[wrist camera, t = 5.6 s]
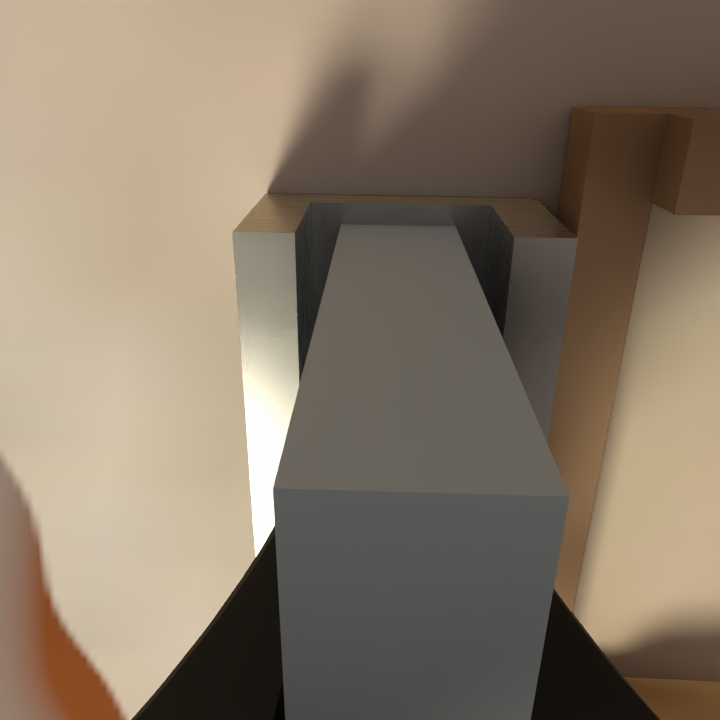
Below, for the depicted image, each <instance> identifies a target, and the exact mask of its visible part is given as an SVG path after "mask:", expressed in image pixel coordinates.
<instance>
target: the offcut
mask: <svg viewBox="0 0 720 720" xmlns="http://www.w3.org/2000/svg"><path fill="white" fill-rule="evenodd" d="M624 678H625V679H626V681H627V682H628V683H629V684H630V685H631V686H632V688H633V689H634V690H635V691H636V692H637V693H638V695H639V696H640V697H641V698H642V699H643V700H644V701H645V703H646V704H647V705H648V706H649V707H650V708H651V710H652V711H653V712H654V713H655V714H656V715H657V716H658V717H659V718H660V720H720V682H718V681H697V680H676V679H656V678H635V677H624Z"/></svg>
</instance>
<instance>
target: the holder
mask: <svg viewBox="0 0 720 720" xmlns="http://www.w3.org/2000/svg"><path fill="white" fill-rule="evenodd" d="M341 224H352V225H407V226H456V229H457V231H458V233H459V236H460V238H461V241H462V243H463V245H464V248H465V250H466V252H467V255H468V257H469V259H470V262H471V264H472V267H473V269H474V271H475V274H476V276H477V278H478V281H479V283H480V286H481V288H482V290H483V293H484V295H485V297H486V300H487V302H488V304H489V307H490V309H491V312H492V314H493V316H494V319H495V321H496V323H497V326H498V328H499V331H500V333H501V335H502V338H503V340H504V342H505V345H506V347H507V349H508V352H509V354H510V357H511V359H512V361H513V364H514V366H515V368H516V371H517V373H518V376H519V378H520V380H521V383H522V385H523V387H524V390H525V392H526V394H527V397H528V399H529V402H530V404H531V406H532V409H533V411H534V413H535V416H536V418H537V421H538V423H539V425H540V428H541V430H542V432H543V435H544V437H545V439H546V442H547V440H548V433H549V427H550V420H551V414H552V407H553V400H554V394H555V387H556V381H557V374H558V367H559V361H560V354H561V348H562V341H563V334H564V328H565V321H566V315H567V308H568V301H569V295H570V288H571V282H572V275H573V268H574V262H575V255H576V249H577V242H578V238H577V237H576V236H575V235H574V234H573V233H572V232H571V231H569V230H568V229H567V228H566V227H565V226H564V225H563V224H562V223H561V222H560V221H559V220H558V219H557V218H556V217H555V216H553V215H552V214H551V213H550V212H549V211H548V210H547V209H546V208H545V207H544V206H543V205H542V204H541V203H540V202H538V201H537V200H536V199H534V198H476V197H419V196H362V195H305V194H265V195H264V196H263V197H262V199H261V200H260V201H259V202H258V203H257V204H256V206H255V207H254V208H253V209H252V210H251V211H250V212H249V214H248V215H247V216H246V217H245V218H244V219H243V220H242V222H241V223H240V224H239V225H238V226H237V227H236V229H235V230H234V231H233V245H234V260H235V274H236V288H237V302H238V316H239V330H240V344H241V359H242V373H243V387H244V401H245V415H246V429H247V443H248V458H249V472H250V486H251V500H252V514H253V528H254V542H255V557H256V556H257V554H258V553H259V551H260V550H261V548H262V546H263V545H264V543H265V541H266V540H267V538H268V536H269V534H270V533H271V531H272V529H273V527H274V525H275V520H274V502H273V485H274V481H275V478H276V474H277V470H278V466H279V462H280V458H281V454H282V450H283V447H284V443H285V439H286V435H287V431H288V427H289V423H290V420H291V416H292V412H293V408H294V404H295V400H296V396H297V392H298V389H299V385H300V381H301V377H302V373H303V369H304V365H305V361H306V358H307V354H308V350H309V346H310V342H311V338H312V334H313V331H314V327H315V323H316V319H317V315H318V311H319V307H320V303H321V300H322V296H323V292H324V288H325V284H326V280H327V276H328V272H329V269H330V265H331V261H332V257H333V253H334V249H335V245H336V242H337V238H338V234H339V230H340V226H341Z"/></svg>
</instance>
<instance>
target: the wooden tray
mask: <svg viewBox="0 0 720 720" xmlns="http://www.w3.org/2000/svg"><path fill="white" fill-rule="evenodd" d="M652 203H654V204H656V205H658V206H660V207H661V208H663V209H665V210H667V211H669V212H671V213H673V214H677V215H720V109H698V108H626V107H573V108H572V115H571V123H570V130H569V137H568V145H567V152H566V159H565V167H564V174H563V181H562V189H561V196H560V203H559V211H558V218H557V219H558V220H559V221H560V222H561V223H562V224H563V225H564V226H565V227H566V228H567V229H568V230H569V231H571V232H572V233H573V234H574V235H575V236H576V237H577V238H578V242H577V249H576V255H575V262H574V268H573V275H572V282H571V288H570V295H569V301H568V308H567V315H566V321H565V328H564V334H563V341H562V348H561V354H560V361H559V367H558V374H557V381H556V387H555V394H554V400H553V407H552V414H551V420H550V427H549V433H548V440H547V444H548V447H549V449H550V451H551V454H552V456H553V458H554V461H555V463H556V466H557V468H558V470H559V473H560V475H561V477H562V480H563V482H564V484H565V487H566V489H567V492H568V494H569V496H570V498H569V503H568V509H567V515H566V521H565V526H564V532H563V538H562V543H561V549H560V555H559V561H558V566H557V572H556V578H555V584H554V589H555V590H556V592H557V593H558V595H559V596H560V597H561V599H562V600H563V601H564V603H565V604H566V605H567V607H568V608H569V609H570V611H571V612H572V611H573V606H574V601H575V596H576V591H577V586H578V580H579V575H580V570H581V565H582V560H583V555H584V550H585V544H586V539H587V534H588V529H589V524H590V519H591V514H592V508H593V503H594V498H595V493H596V488H597V483H598V478H599V473H600V467H601V462H602V457H603V452H604V447H605V442H606V437H607V431H608V426H609V421H610V416H611V411H612V406H613V401H614V395H615V390H616V385H617V380H618V375H619V370H620V365H621V360H622V354H623V349H624V344H625V339H626V334H627V329H628V324H629V318H630V313H631V308H632V303H633V298H634V293H635V288H636V282H637V277H638V272H639V267H640V262H641V257H642V252H643V246H644V241H645V236H646V231H647V226H648V221H649V216H650V211H651V205H652Z"/></svg>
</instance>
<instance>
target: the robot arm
mask: <svg viewBox="0 0 720 720" xmlns="http://www.w3.org/2000/svg"><path fill="white" fill-rule="evenodd" d="M132 720H285V705H284V687H283V668H282V650H281V631H280V613H279V594H278V576H277V557H276V539H275V525H274V527H273V529H272V531H271V533H270V534H269V536H268V538H267V540H266V541H265V543H264V545H263V546H262V548H261V550H260V551H259V553H258V554H257V556H256V558H255V559H254V561H253V562H252V564H251V565H250V567H249V568H248V570H247V572H246V573H245V575H244V576H243V578H242V579H241V581H240V582H239V584H238V585H237V586H236V588H235V589H234V591H233V592H232V593H231V595H230V596H229V598H228V599H227V601H226V602H225V603H224V605H223V606H222V608H221V609H220V610H219V612H218V613H217V615H216V616H215V617H214V619H213V620H212V622H211V623H210V624H209V626H208V627H207V628H206V630H205V631H204V632H203V634H202V635H201V636H200V637H199V639H198V640H197V641H196V642H195V644H194V645H193V646H192V647H191V649H190V650H189V651H188V652H187V654H186V655H185V656H184V658H183V659H182V660H181V661H180V663H179V664H178V665H177V666H176V668H175V669H174V670H173V671H172V673H171V674H170V675H169V676H168V678H167V679H166V680H165V681H164V683H163V684H162V685H161V686H160V687H159V689H158V690H157V691H156V692H155V693H154V694H153V696H152V697H151V698H150V699H149V700H148V701H147V702H146V704H145V705H144V706H143V707H142V708H141V709H140V711H139V712H138V713H137V714H136V715H135V716H134V717H133V718H132ZM531 720H660V718H659V717H658V716H657V715H656V714H655V713H654V712H653V711H652V710H651V708H650V707H649V706H648V705H647V704H646V703H645V701H644V700H643V699H642V698H641V697H640V696H639V695H638V693H637V692H636V691H635V690H634V689H633V688H632V686H631V685H630V684H629V683H628V682H627V681H626V679H625V678H624V677H623V676H622V675H621V674H620V672H619V671H618V670H617V669H616V668H615V666H614V665H613V664H612V663H611V661H610V660H609V659H608V658H607V657H606V655H605V654H604V653H603V652H602V650H601V649H600V648H599V647H598V645H597V644H596V643H595V642H594V640H593V639H592V638H591V636H590V635H589V634H588V633H587V631H586V630H585V629H584V627H583V626H582V625H581V624H580V622H579V621H578V620H577V618H576V617H575V616H574V615H573V613H572V612H571V611H570V609H569V608H568V607H567V605H566V604H565V603H564V601H563V600H562V599H561V597H560V596H559V595H558V593H557V592H556V590H555V589H553V595H552V601H551V606H550V612H549V618H548V624H547V629H546V635H545V641H544V646H543V652H542V658H541V664H540V669H539V675H538V681H537V686H536V692H535V698H534V704H533V709H532V715H531Z"/></svg>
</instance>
